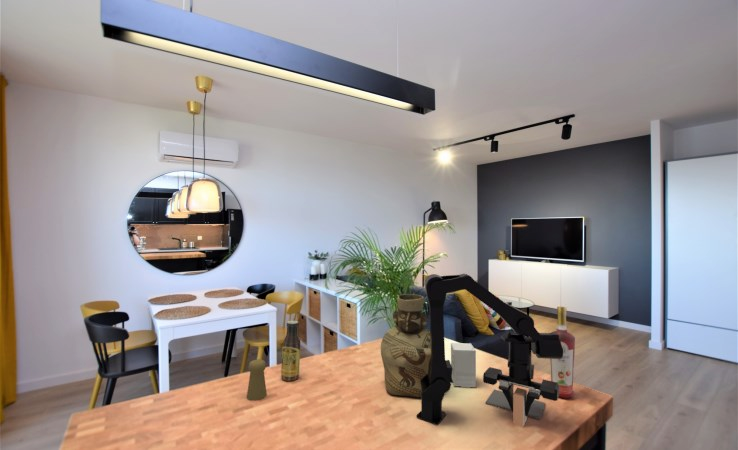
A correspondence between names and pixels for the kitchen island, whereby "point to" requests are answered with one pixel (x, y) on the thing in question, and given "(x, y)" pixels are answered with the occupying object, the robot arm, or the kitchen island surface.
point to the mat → (500, 401)
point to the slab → (519, 407)
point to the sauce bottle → (291, 353)
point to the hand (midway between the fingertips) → (519, 413)
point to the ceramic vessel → (406, 348)
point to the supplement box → (463, 364)
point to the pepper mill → (256, 380)
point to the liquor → (564, 357)
